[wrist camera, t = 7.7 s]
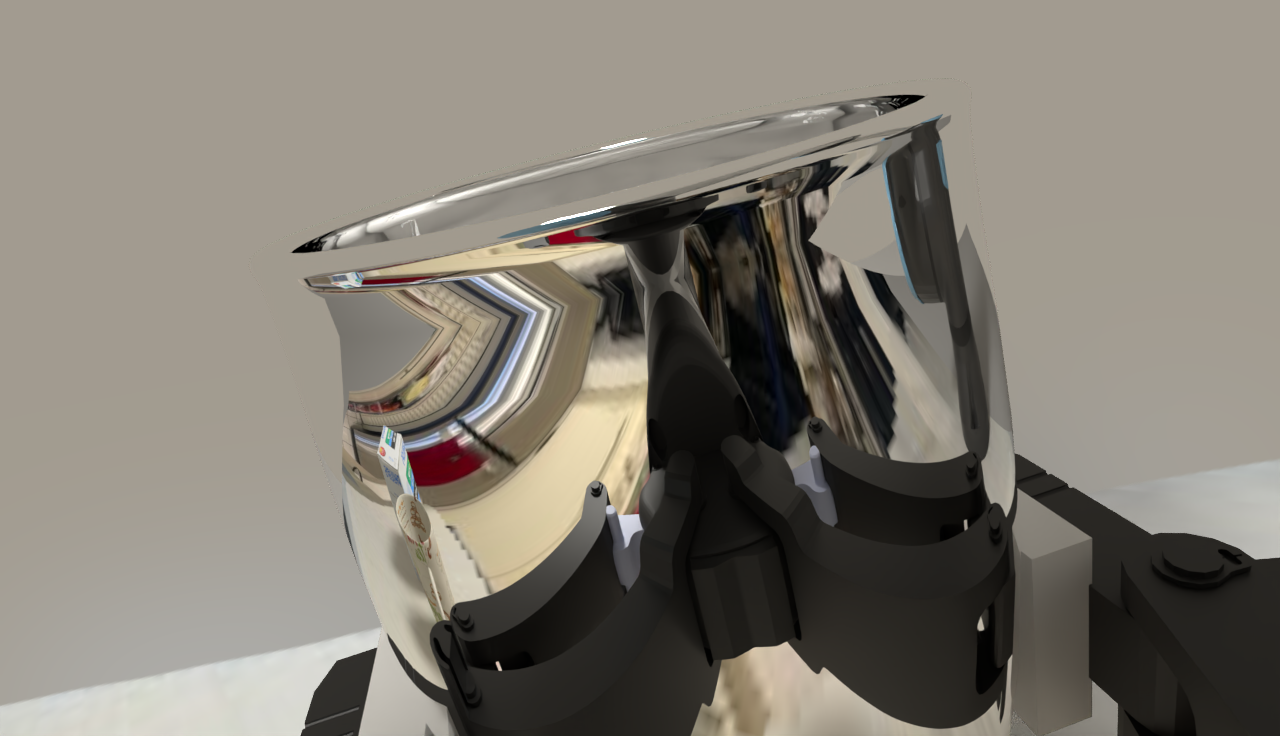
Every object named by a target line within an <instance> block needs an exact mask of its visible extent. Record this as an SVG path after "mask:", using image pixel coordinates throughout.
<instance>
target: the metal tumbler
mask: <svg viewBox="0 0 1280 736" xmlns="http://www.w3.org/2000/svg"><path fill="white" fill-rule="evenodd" d="M971 96H972V92H971V89H970V87H969V86H968V84H967V83H966V82H963V81H960V80H957V79H946V78H945V79H925V80H914V81H905V82H896V83H888V84H881V85H875V86H868V87H862V88H856V89H850V90H844V91H838V92H833V93H827V94H821V95H816V96H811V97H806V98H801V99H795V100H790V101H785V102H781V103H775V104H770V105H765V106H760V107H756V108H751V109H746V110H741V111H737V112H732V113H727V114H723V115H718V116H714V117H709V118H705V119H700V120H696V121H691V122H687V123H682V124H679V125H674V126H669V127H665V128H661V129H656V130H652V131H648V132H644V133H640V134H635V135H631V136H627V137H623V138H619V139H615V140H610V141H606V142H602V143H598V144H594V145H590V146H586V147H582V148H579V149H574V150H570V151H566V152H562V153H558V154H555V155H551V156H547V157H543V158H539V159H535V160H531V161H528V162H524V163H520V164H517V165H513V166H509V167H505V168H501V169H498V170H494V171H490V172H487V173H483V174H479V175H476V176H472V177H469V178H466V179H461V180H458V181H454V182H451V183H447V184H444V185H441V186H437V187H434V188H430V189H427V190H423V191H420V192H417V193H413V194H410V195H407V196H403V197H400V198H396V199H393V200H390V201H387V202H383V203H380V204H377V205H374V206H371V207H367V208H364V209H361V210H358V211H356V212H352V213H349V214H346V215H343V216H340V217H337V218H334V219H331V220H329V221H326V222H323V223H320V224H317V225H315V226H312V227H309V228H306V229H304V230H301V231H299V232H296V233H294V234H291V235H289V236H287V237H285V238H282V239H280V240H278V241H276V242H273V243H271V244H269V245H267V246H265V247H264V248H262V249H260V250H259V251H258V252H256V253H255V254H254V255H253V257H252V258H251V259H250V263H249V268H250V271H251V273H252V275H253V276H254V277H255V279H256V280H257V282H258V284H259V286H260V288H261V290H262V292H263V294H264V297H265V300H266V302H267V305H268V307H269V310H270V312H271V314H272V317H273V320H274V322H275V325H276V328H277V331H278V334H279V336H280V339H281V342H282V345H283V348H284V351H285V354H286V357H287V360H288V362H289V365H290V368H291V371H292V373H293V377H294V380H295V383H296V386H297V389H298V392H299V395H300V398H301V401H302V404H303V408H304V410H305V413H306V416H307V420H308V423H309V426H310V429H311V432H312V435H313V438H314V442H315V444H316V448H317V451H318V454H319V457H320V460H321V463H322V466H323V469H324V472H325V474H326V477H327V480H328V483H329V486H330V489H331V491H332V494H333V497H334V500H335V503H336V505H337V509H338V512H339V514H340V517H341V520H342V523H343V526H344V529H345V531H346V534H347V537H348V540H349V543H350V546H351V548H352V551H353V554H354V557H355V560H356V563H357V565H358V568H359V571H360V573H361V576H362V578H363V581H364V583H365V586H366V588H367V590H368V593H369V595H370V598H371V600H372V603H373V605H374V607H375V610H376V612H377V615H378V617H379V620H380V622H381V624H382V627H383V629H384V632H385V634H386V637H387V639H388V642H389V644H390V647H391V649H392V651H393V654H394V656H395V659H396V661H397V664H398V666H399V669H400V671H401V673H402V676H403V678H404V680H405V682H406V684H407V686H408V688H409V690H410V692H411V694H412V696H413V698H414V700H415V702H416V704H417V706H418V708H419V710H420V712H421V714H422V715H423V717H424V719H425V721H426V723H427V725H428V727H429V729H430V731H431V733H432V735H433V736H1010V730H1011V723H1012V715H1013V708H1014V701H1015V693H1016V686H1017V679H1018V671H1019V662H1020V648H1021V528H1020V515H1019V503H1018V491H1017V478H1016V466H1015V454H1014V441H1013V430H1012V417H1011V409H1010V402H1009V394H1008V386H1007V379H1006V371H1005V365H1004V357H1003V350H1002V342H1001V336H1000V335H1001V334H1000V327H999V320H998V312H997V305H996V298H995V293H994V286H993V280H992V274H991V267H990V261H989V255H988V248H987V242H986V236H985V230H984V224H983V218H982V211H981V203H980V196H979V189H978V181H977V174H976V167H975V160H974V153H973V141H972V130H971V120H970V102H971V98H972V97H971Z"/></svg>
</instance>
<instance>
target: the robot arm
mask: <svg viewBox="0 0 1280 736" xmlns="http://www.w3.org/2000/svg"><path fill="white" fill-rule="evenodd" d="M1014 454H1015V453H1014ZM1015 466H1016V478H1017V491H1018V503H1019V515H1020V528H1021V648H1020V662H1019V671H1018V679H1017V686H1016V693H1015V701H1014V708H1013V710H1014V711H1015V712H1016V713H1017V715H1018V716H1019V717H1020V718H1021V719H1022V720H1023V721H1024V722H1025V723H1026V724H1027V726H1028V727H1029V728H1030V729H1031V730H1032V731H1033V732H1034V733H1035V734H1036V735H1037V736H1043V735H1045V734H1048V733H1051V732H1053V731H1056V730H1058V729H1061V728H1064V727H1066V726H1069V725H1071V724H1074V723H1077V722H1079V721H1082V720H1084V719H1087V718H1090V717H1092V681H1093V682H1095V683H1096V684H1097V685H1098V686H1099V687H1100V688H1101V689H1102V690H1103V691H1104V692H1106V693H1107V694H1108V695H1109V696H1110V697H1111V698H1112V699H1113V700H1114V701H1116V702H1117V703H1118V736H1280V558H1270V559H1258V560H1255V559H1253V558H1252V557H1250V556H1249V555H1247V554H1246V553H1244V552H1243V551H1242V550H1240V549H1238V548H1236V547H1233V546H1231V545H1228V544H1226V543H1223V542H1221V541H1218V540H1216V539H1213V538H1207V537H1202V536H1197V535H1192V534H1187V533H1158V534H1154V535H1151V534H1150V533H1148V532H1146V531H1145V530H1143V529H1141V528H1140V527H1138V526H1136V525H1135V524H1133V523H1131V522H1130V521H1128V520H1127V519H1125V518H1123V517H1122V516H1120V515H1118V514H1117V513H1115V512H1113V511H1112V510H1110V509H1108V508H1107V507H1105V506H1103V505H1102V504H1100V503H1098V502H1097V501H1095V500H1093V499H1092V498H1090V497H1088V496H1087V495H1085V494H1083V493H1082V492H1080V491H1078V490H1077V489H1075V488H1069V487H1068V484H1067V483H1065V482H1064V481H1062V480H1060V479H1059V478H1057V477H1055V476H1054V475H1052V474H1049V475H1048V474H1047V473H1046V471H1045V470H1043V469H1042V468H1040V467H1039V466H1037V465H1035V464H1034V463H1032V462H1030V461H1029V460H1027V459H1025V458H1024V457H1022V456H1020V455H1018V454H1015ZM301 736H433V735H432V733H431V731H430V729H429V727H428V725H427V723H426V721H425V719H424V717H423V715H422V714H421V712H420V710H419V708H418V706H417V704H416V702H415V700H414V698H413V696H412V694H411V692H410V690H409V688H408V686H407V684H406V682H405V680H404V678H403V676H402V673H401V671H400V669H399V666H398V664H397V661H396V659H395V656H394V654H393V651H392V649H391V647H390V644H389V642H388V639H387V637H386V634H385V632H384V629H383V627H382V629H381V634H380V638H379V643H378V648H374V649H371V650H368V651H365V652H362V653H359V654H356V655H353V656H350V657H347V658H344V659H341V660H338V661H336V663H335V664H334V666H333V667H332V668H331V670H330V671H329V672H328V674H327V675H326V677H325V678H324V679H323V681H322V682H321V684H320V685H319V686H318V688H317V689H316V690H315V692H314V695H313V698H312V701H311V704H310V707H309V711H308V714H307V717H306V720H305V729H303V730H302V733H301Z"/></svg>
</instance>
